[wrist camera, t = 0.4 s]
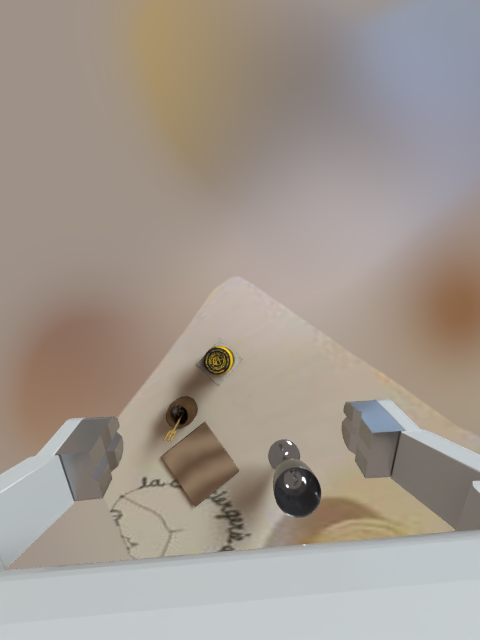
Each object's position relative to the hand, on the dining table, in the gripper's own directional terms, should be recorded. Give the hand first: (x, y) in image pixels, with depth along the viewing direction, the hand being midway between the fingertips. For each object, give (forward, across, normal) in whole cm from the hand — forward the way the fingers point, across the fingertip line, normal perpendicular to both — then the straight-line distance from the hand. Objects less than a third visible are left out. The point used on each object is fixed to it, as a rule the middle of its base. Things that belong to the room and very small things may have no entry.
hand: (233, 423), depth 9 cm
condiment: (+47, -3, -22) cm, 52 cm away
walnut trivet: (+37, -8, -42) cm, 57 cm away
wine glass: (+37, +11, -42) cm, 56 cm away
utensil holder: (+43, -11, -32) cm, 55 cm away
